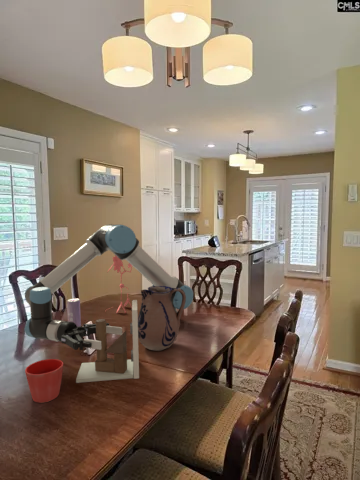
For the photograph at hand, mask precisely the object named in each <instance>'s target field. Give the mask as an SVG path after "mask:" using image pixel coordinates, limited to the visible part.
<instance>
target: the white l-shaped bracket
mask: <svg viewBox="0 0 360 480" xmlns="http://www.w3.org/2000/svg"><path fill="white" fill-rule="evenodd" d="M131 306H132V308H131V320H132V321H131V322H130V325H129V326H130V327H129V328H130V335H132V349H131V350H130V359H127V370H126V371H125V373H123V374H122V373H115V372H114V373H112V372H101V371H95V361H93V362H92V361H90V362H82V363H81V365H80V367H79V370H78V373H77V375H76V379H75V383H76V384H80V383H90V382H91V383H93V382H100V381H102V382H103V381H112V380H116V381H117V380H127V379H135V380H136V379H140V362H139V359H140V358H139V356H140V355H139V339H138V317H139V314H138V300H137V299H133V300H132V301H131Z"/></svg>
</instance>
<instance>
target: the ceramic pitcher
mask: <svg viewBox="0 0 360 480" xmlns="http://www.w3.org/2000/svg"><path fill="white" fill-rule="evenodd" d="M176 291H178V292H180V293H181V295H182V303H181V306H180V309H178V310H177V313H176V312H175V310H174V308H173V305H172V302H171V296H172V293H173V292H176ZM140 293H141V305H140V308H139V314H138V342H139V343H140V344H141V345H142V346H143V347H144V348H146V349H148V350H150V351H157V352H159V351H163V350H166V349H169V348H170V347H171V346H172V345H173V344H174V343H175V341H176V340H177V338H178V335H179V330H180V329H179V328H180V327H181V316H182V314H183V311H184V310H185V309H184V306H185V302H186V295H185V292H184V291H183V290H182V289H180V288H171V287H167V286H152V285H151V286H149V287H147V289H141V290H140Z"/></svg>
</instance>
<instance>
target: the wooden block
mask: <svg viewBox="0 0 360 480" xmlns="http://www.w3.org/2000/svg"><path fill="white" fill-rule="evenodd" d="M106 323H107V319H105V318H98V319H96V320H95V324H96V333H95V340H97V341H101V347H102V349H101V350H98V349H96V360H95V361H94V362H95V371H101V372H112V373H114V372H115V373H122V374H123V373H125V371H126V370H127V360H128V355H127V353H128V349H127V347H128V345H127V330H125V331H123V332H122V335H119V337H117V339H116V340H115V341H114V342H113V343H112V344H111V345H110V346H109V347H108V342H107V341H108V340H107V338H108V337H107V333H106ZM108 353H109V354H113V358H112V357H111V358H110V357H108Z"/></svg>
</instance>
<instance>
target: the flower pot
mask: <svg viewBox="0 0 360 480" xmlns="http://www.w3.org/2000/svg"><path fill="white" fill-rule="evenodd" d="M63 371H64V362H63V361H62V360H60V359H58V358H49V359H48V358H47V359H41V360H38V361H35V362H33V363H31V364H29V365H27V366H26V367H25V370H24V373H25V377H26V380H27V385H28V389H29V392H30V395H31V397H32V401H33V402H35V403H38V404H39V403H40V404H41V403H42V404H43V403H48V402H50V401H53V400H55V399H56V398H58V396H60V390H61V386H62V385H61V384H62V380H63V379H62V378H63Z"/></svg>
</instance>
